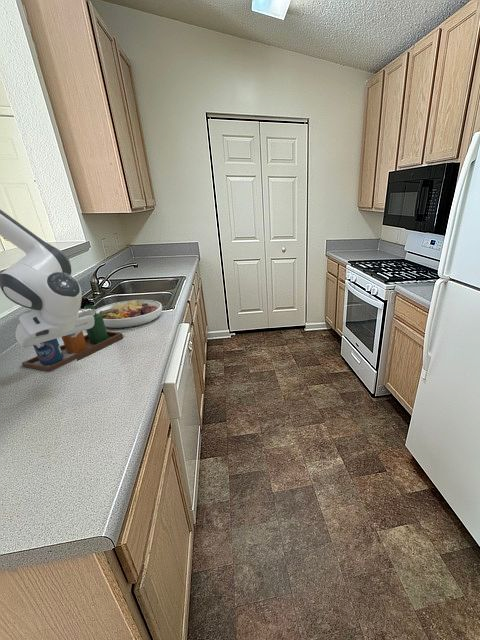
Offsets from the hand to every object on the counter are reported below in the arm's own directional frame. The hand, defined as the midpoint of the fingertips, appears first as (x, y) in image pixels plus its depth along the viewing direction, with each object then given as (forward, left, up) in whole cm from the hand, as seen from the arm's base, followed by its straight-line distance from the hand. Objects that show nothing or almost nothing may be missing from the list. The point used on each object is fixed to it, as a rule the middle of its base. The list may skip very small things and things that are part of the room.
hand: (56, 340), depth 105 cm
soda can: (-6, +11, -11) cm, 17 cm away
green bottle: (+8, +25, -12) cm, 29 cm away
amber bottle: (+1, +18, -12) cm, 21 cm away
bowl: (+20, +50, -12) cm, 55 cm away
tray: (+1, +18, -12) cm, 21 cm away
